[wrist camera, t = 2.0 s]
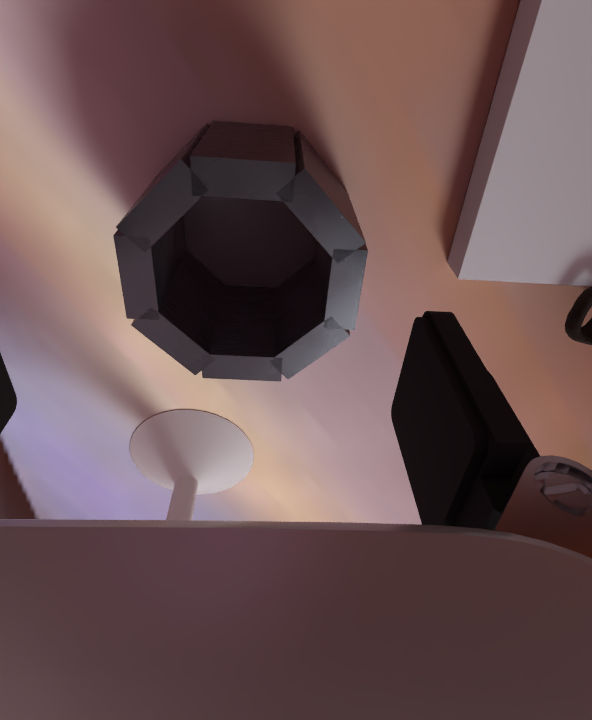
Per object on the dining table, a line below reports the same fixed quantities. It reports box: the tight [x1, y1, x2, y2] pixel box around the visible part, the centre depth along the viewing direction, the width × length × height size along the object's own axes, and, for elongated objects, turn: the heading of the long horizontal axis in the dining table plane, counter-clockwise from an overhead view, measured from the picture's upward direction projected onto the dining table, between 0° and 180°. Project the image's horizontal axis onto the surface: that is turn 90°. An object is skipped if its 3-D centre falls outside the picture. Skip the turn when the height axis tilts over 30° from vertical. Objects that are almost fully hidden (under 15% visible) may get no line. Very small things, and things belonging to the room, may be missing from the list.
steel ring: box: [114, 121, 368, 381], centre depth 16 cm, size 7×7×5 cm
